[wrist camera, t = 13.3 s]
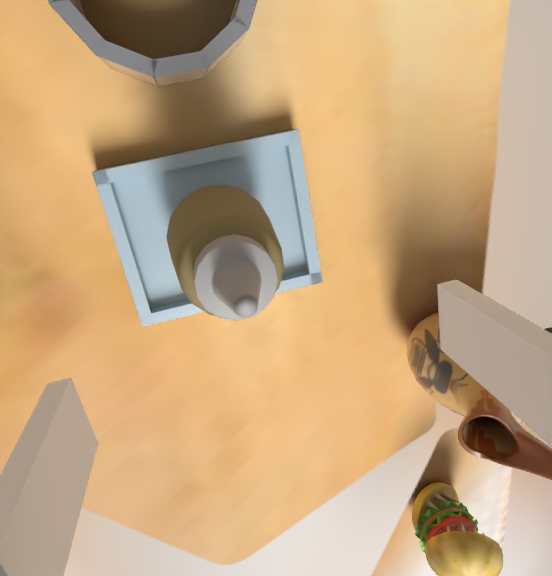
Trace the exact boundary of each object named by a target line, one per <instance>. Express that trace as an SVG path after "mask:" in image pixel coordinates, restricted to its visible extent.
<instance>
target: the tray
mask: <svg viewBox="0 0 552 576" xmlns="http://www.w3.org/2000/svg"><path fill="white" fill-rule="evenodd" d="M92 174H93V177H94V180H95V183H96V186H97V189H98V192H99V195H100V198H101V201H102V204H103V207H104V210H105V213H106V216H107V220H108V223H109V226H110V229H111V232H112V235H113V238H114V241H115V244H116V247H117V250H118V253H119V256H120V259H121V262H122V265H123V269H124V272H125V275H126V278H127V281H128V284H129V287H130V290H131V293H132V296H133V299H134V302H135V305H136V308H137V311H138V314H139V318H140V321H141V324H142V327H145V326H149V325H153V324H157V323H161V322H165V321H169V320H173V319H177V318H181V317H185V316H189V315H193V314H197V313H201V312H205V311H203V310H201V309H200V308H198V307H196V306H195V305H193V304H192V303H191V301H190V300H189V299H188V297H187V296H186V294H185V293H184V292H183V290H182V289H181V287H180V284H179V281H178V278H177V275H176V272H175V269H174V266H173V263H172V260H171V256H170V252H169V247H168V243H167V239H166V236H167V231H168V225H169V220H170V216H171V215H172V213H173V212H174V210H175V209H176V207H177V206H178V204H179V203H180V202H181V200H182V199H183V198H185V197H186V196H188V195H190V194H191V193H193V192H194V191H196V190H197V189H199V188H202V187H208V186H214V185H220V184H223V185H227V186H231V187H235V188H240V189H243V190H244V191H245V192H247V193H248V194H250V195H251V196H252V197H254V198H255V199H256V200H258V201H259V202H260V204H261V205H262V207H263V209H264V210H265V212H266V214H267V215H268V217H269V219H270V221H271V224H272V226H273V229H274V231H275V233H276V236H277V238H278V241H279V243H280V246H281V248H282V255H283V262H284V271H283V275H282V279H281V283H280V286H279V288H278V290H277V291H276V292H275V294H277V293H281V292H285V291H289V290H293V289H297V288H301V287H305V286H309V285H313V284H317V283H321V282H322V276H321V269H320V263H319V256H318V250H317V244H316V237H315V231H314V225H313V218H312V212H311V206H310V199H309V193H308V187H307V180H306V174H305V168H304V161H303V155H302V149H301V142H300V136H299V130H289V131H284V132H279V133H274V134H269V135H264V136H259V137H255V138H250V139H245V140H240V141H235V142H230V143H225V144H221V145H216V146H211V147H206V148H201V149H196V150H191V151H187V152H182V153H177V154H172V155H167V156H162V157H157V158H152V159H148V160H143V161H138V162H133V163H128V164H123V165H118V166H114V167H109V168H104V169H99V170H96V171H94V172H92Z"/></svg>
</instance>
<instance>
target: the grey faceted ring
mask: <svg viewBox="0 0 552 576" xmlns="http://www.w3.org/2000/svg"><path fill="white" fill-rule="evenodd" d="M48 3H49V4H50V5H51V7H52V8H53V9H54V10H55V11H56V12H57V13H58V14H59V15H60V16H61V17H62V19H63V20H64V21H65V22H66V23H67V24H68V25H69V26H70V27H71V28H72V30H73V31H74V32H75V33H76V34H77V35H78V36H79V37H80V38H81V39H82V41H83V42H84V43H85V44H86V45H87V46H88V47H89V48H90V49H91V50H92V51H93V53H94V54H95V55H96V56H97V57H99V58H100V59H101V60H102V61H103V62H104V63H106V64H107V65H108V66H109V67H110V68H112V69H114V70H116V71H119V72H122V73H124V74H127V75H130V76H132V77H135V78H137V79H140V80H143V81H145V82H148V83H151V84H153V85H156V86H158V85H159V86H164V85H169V84H174V83H180V82H185V81H190V80H196V79H201V78H203V77H205V76H206V75H207V74H208V73H209V72H210V71H211V70H213V69H214V68H215V67H216V66H217V65H218V64H219V63H220V62H221V61H222V60H223V59H224V58H225V57H226V56H227V55H228V54H229V53H230V52H231V51H232V50H233V49H234V48H236V47H237V45H238V44H239V42H240V41H241V39H242V38H243V37H244V35H245V34H246V32H247V31H248V29H249V27H250V24H251V20H252V17H253V14H254V10H255V7H256V3H257V0H236V2H235V5H234V9H233V12H232V16H231V19H230V23H229V24H228V25H227V26H226V27H225V28H224V29H223V30H222V31H221V32H220V33H219V34H218V35H217V36H216V37H215V38H214V39H213V40H212V41H211V42H209V43H208V44H207V45H206V46H205V47H204V48H203V49H202V50H201V51H198V52H193V53H187V54H181V55H176V56H170V57H165V58H159V59H151V58H149V57H146V56H144V55H141V54H139V53H136V52H134V51H131V50H128V49H126V48H123V47H121V46H118V45H116V44H113V43H111V42H108V41H106V40H104V39H103V38H102V37H101V35H100V34H99V33H98V32H97V31H96V30H95V29H94V28H93V26H92V25H91V24H90V23H89V22H88V21H87V20H86V17H85V14H84V11H83V7H82V4H81V0H48Z"/></svg>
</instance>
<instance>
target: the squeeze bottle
mask: <svg viewBox="0 0 552 576" xmlns="http://www.w3.org/2000/svg"><path fill="white" fill-rule="evenodd" d="M166 239H167V243H168V247H169V252H170V256H171V260H172V263H173V266H174V269H175V272H176V275H177V278H178V281H179V284H180V287H181V289H182V290H183V292H184V293H185V294H186V296H187V297H188V299H189V300H190V301H191V303H192V304H193V305H195V306H196V307H198V308H200V309H201V310H203V311H205V312H206V313H208V314H210V315H214V316H217V317H219V318H222V319H228V320H234V321H236V320H241V319H246V318H251V317H253V316H254V315H256V314H257V313H259V312H260V311H262V310H264V309H265V308H266V306H267V305H268V304H269V302H270V301H271V300H272V298H273V297H274V295H275V292H276V291H277V290H278V288H279V286H280V283H281V279H282V275H283V271H284V262H283V255H282V248H281V246H280V243H279V241H278V238H277V236H276V233H275V231H274V229H273V226H272V224H271V221H270V219H269V217H268V215H267V214H266V212H265V210H264V209H263V207H262V205H261V204H260V202H259V201H258V200H256V199H255V198H254V197H252V196H251V195H250V194H248V193H247V192H245V191H244V190H243V189H240V188H235V187H231V186H227V185H223V184H220V185H214V186H208V187H202V188H199V189H197V190H196V191H194V192H193V193H191V194H190V195H188V196H186V197H185V198H183V199H182V200H181V202H180V203H179V204H178V206H177V207H176V209H175V210H174V212H173V213H172V215H171V216H170V220H169V225H168V231H167V236H166Z"/></svg>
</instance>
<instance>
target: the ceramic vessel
mask: <svg viewBox="0 0 552 576" xmlns="http://www.w3.org/2000/svg"><path fill="white" fill-rule="evenodd" d="M407 357H408V362H409V365H410V368H411V370H412V373H413V374H414V376H415V378H416V380H417V381H418V382H419V384H420V385H421V386H422V388H423V389H424V390H425V391H426V392H427V393H428V394H429V395H430V396H431V397H432V398H434V399H435V400H436V401H437V402H439V403H440V404H442V405H443V406H445V407H446V408H448V409H450V410H452V411H453V412H456V413H457V414H460V415H462V416H464V419H463V421H462V423H461V425H460V427H459V430H458V438H459V442H460V444H461V445H462V447H463V448H464V449H465V450H466V451H467V452H469V453H470V454H472V455H474V456H477V457H480V458H484V459H488V460H491V461H493V462H496V463H499V464H502V465H506V466H509V467H513V468H517V469H520V470H524V471H527V472H530V473H533V474H536V475H539V476H542V477H545V478H548V479H550V480H552V449H551V448H550V447H548V446H547V445H546V444H544V443H543V442H541V441H540V440H538V439H537V438H535V437H534V436H533V435H531V434H530V433H529V432H527V431H526V430H525V429H524V428H522V427H521V426H520V425H519V423H521V422H523V421H522V420H521V419H519V418H518V417H517V416H516V415H515V414H514V413H513V412H511V411H510V410H509V409H508V408H507V407H506V406H505V405H503V404H502V403H501V402H500V401H499V400H498V399H497V398H495V397H494V396H493V395H492V394H491V393H490V392H489V391H487V390H486V389H485V388H484V387H483V386H482V385H481V384H479V383H478V382H477V381H476V380H475V379H474V378H473V377H472V376H470V375H469V374H468V373H467V372H466V371H465V370H464V369H462V368H461V367H460V366H459V365H458V364H457V363H456V362H454V361H453V360H452V359H451V358H450V357H449V356H448V355H446V354H445V353H444V352H443V351H442V350H441V346H440V327H439V312H437V313H434V314H432V315H430V316H428V317H426V318H425V319H423V320H422V321H421V322H420V323H418V324H417V326H416V327H415V328H414V329H413V331H412V333H411V335H410V337H409V340H408V344H407Z"/></svg>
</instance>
